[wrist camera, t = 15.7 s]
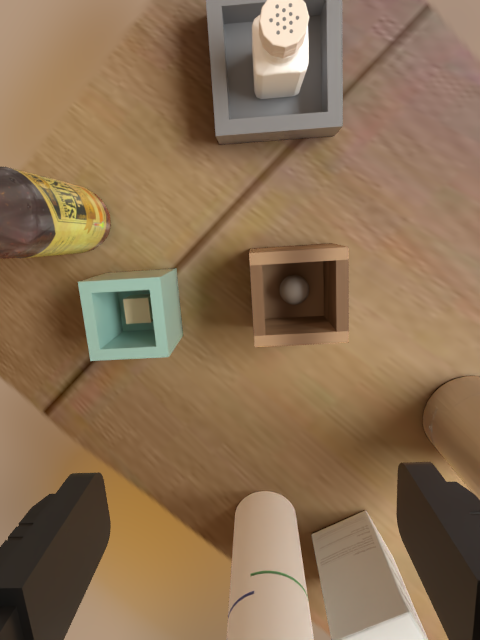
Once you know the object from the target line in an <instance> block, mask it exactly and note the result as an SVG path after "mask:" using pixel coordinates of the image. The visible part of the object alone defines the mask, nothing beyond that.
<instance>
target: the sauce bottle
mask: <svg viewBox="0 0 480 640" xmlns="http://www.w3.org/2000/svg"><path fill="white" fill-rule="evenodd" d="M110 226H111V224H110V215H109V212H108V210H107V208H106V206H105V204H104V203H103V201H102V200H101V199H100V198H99V197H98V196H97V195H96V194H94V193H92V192H91V191H89V190H88V189H86V188H84V187H81V186H78V185H74V184H70V183H66V182H63V181H59V180H55V179H51V178H47V177H43V176H39V175H35V174H31V173H28V172H24V171H20V170H17V169H12V168H8V167H0V258H4V259H5V258H32V257H42V256H52V255H63V254H75V253H83V252H86V251H90V250H93V249H94V248H96V247H97V246H99V245H100V244H102V243H103V242H104V240H105V239H106V238H107V236H108V234H109V231H110Z"/></svg>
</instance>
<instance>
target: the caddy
mask: <svg viewBox="0 0 480 640" xmlns="http://www.w3.org/2000/svg"><path fill="white" fill-rule="evenodd" d="M266 1H267V0H206V8H207V22H208V36H209V50H210V64H211V78H212V92H213V105H214V119H215V133H216V138H217V140H218V143H219V145H223V144H236V143H249V142H262V141H275V140H288V139H301V138H315V137H328V136H335V134H336V133H337V132H338V131H339V130H340V129H341V128H342V126H343V86H342V0H303V1H304V2H305V3H306V7H307V10H308V14H309V21H308V40H309V64H308V67H307V70H306V73H305V76H304V79H303V82H302V85H301V88H300V91H299V94H297V95H295V96H292V97H281V98H269V99H260V98H257V97H256V95H255V92H254V76H253V57H252V24H253V21H254V19H255V18H256V17H258V16H259V15H260V14H261V9H262V6H263V5H264V4H265V2H266Z"/></svg>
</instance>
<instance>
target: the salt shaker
mask: <svg viewBox="0 0 480 640" xmlns="http://www.w3.org/2000/svg"><path fill="white" fill-rule="evenodd" d="M308 21H309V14H308V10H307V7H306V3H305V2H304V1H303V0H267V1H266V2H265V4H264V5H263V6H262V9H261V14H260V15H259V16H258V17H256V18H255V19H254V21H253V24H252V57H253V76H254V92H255V95H256V97H257V98H260V99H269V98H281V97H292V96H295V95H297V94H299V91H300V88H301V85H302V82H303V79H304V76H305V73H306V70H307V67H308V64H309V40H308Z"/></svg>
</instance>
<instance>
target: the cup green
mask: <svg viewBox="0 0 480 640" xmlns="http://www.w3.org/2000/svg"><path fill="white" fill-rule="evenodd" d="M78 286H79V293H80V299H81V305H82V311H83V318H84V324H85V330H86V337H87V343H88V349H89V355H90V361H99V360H119V359H139V358H160V357H169V356H170V355H171V353H172V352H173V350H174V349H175V347H176V345H177V344H178V342H179V341H180V339H181V338H182V336H183V329H182V319H181V309H180V299H179V289H178V280H177V270H176V268H174V269H158V270H141V271H125V272H108V273H105V274H102V275H99V276H95V277H92V278H89V279H86V280H83V281H79V282H78Z"/></svg>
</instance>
